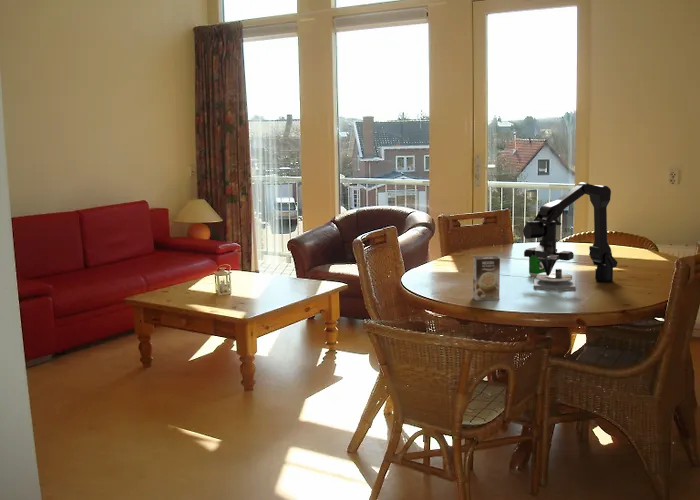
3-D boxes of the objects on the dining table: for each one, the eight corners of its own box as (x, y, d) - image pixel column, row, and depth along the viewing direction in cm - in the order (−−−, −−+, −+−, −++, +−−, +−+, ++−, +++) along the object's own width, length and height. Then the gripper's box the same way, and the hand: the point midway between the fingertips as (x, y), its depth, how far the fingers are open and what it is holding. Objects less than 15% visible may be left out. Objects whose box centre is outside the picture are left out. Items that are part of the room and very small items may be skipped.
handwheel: (533, 280, 299) (533, 269, 298) (541, 274, 312) (541, 263, 311) (568, 283, 293) (568, 271, 292) (575, 276, 305) (575, 264, 304)
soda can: (534, 278, 318) (534, 250, 316) (525, 274, 325) (525, 247, 323) (550, 276, 320) (550, 249, 318) (541, 273, 327) (541, 246, 325)
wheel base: (574, 282, 308) (574, 275, 307) (575, 290, 294) (575, 283, 293) (534, 281, 312) (534, 274, 312) (533, 289, 298) (533, 282, 297)
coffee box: (476, 301, 282) (475, 259, 279) (472, 297, 288) (472, 256, 285) (500, 300, 282) (500, 258, 279) (496, 296, 288) (496, 255, 285)
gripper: (518, 237, 295) (517, 276, 298) (563, 241, 284) (562, 281, 286) (530, 234, 304) (529, 271, 306) (574, 237, 292) (573, 276, 295)
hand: (548, 275), depth 298 cm, fingers closed
